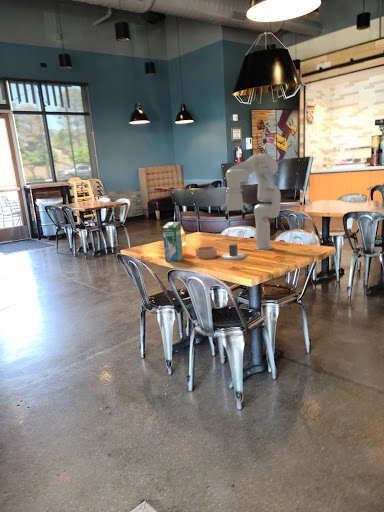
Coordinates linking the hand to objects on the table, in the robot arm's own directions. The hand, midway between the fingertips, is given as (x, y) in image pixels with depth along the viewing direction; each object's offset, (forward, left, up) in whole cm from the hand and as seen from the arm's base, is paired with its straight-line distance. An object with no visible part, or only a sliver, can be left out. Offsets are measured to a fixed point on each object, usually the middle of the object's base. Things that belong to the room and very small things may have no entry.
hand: (235, 219), depth 233 cm
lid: (-10, -7, -26) cm, 29 cm away
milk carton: (+4, -44, -27) cm, 51 cm away
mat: (-10, -7, -27) cm, 29 cm away
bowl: (-8, -26, -27) cm, 38 cm away
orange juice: (-13, -51, -27) cm, 59 cm away
